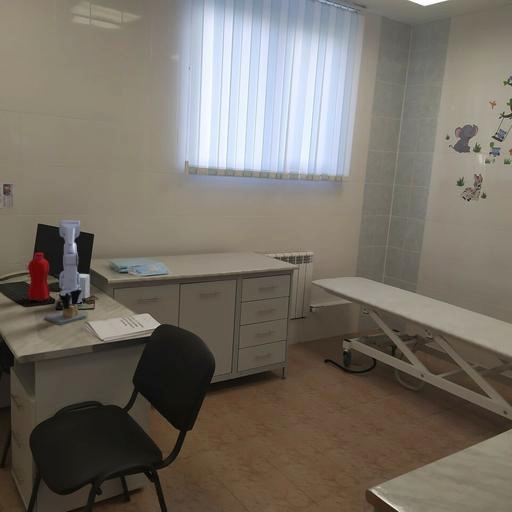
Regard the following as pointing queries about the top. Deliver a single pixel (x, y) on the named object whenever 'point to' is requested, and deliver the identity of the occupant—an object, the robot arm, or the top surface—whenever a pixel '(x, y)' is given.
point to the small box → (85, 285)
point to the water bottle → (38, 277)
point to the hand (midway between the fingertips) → (70, 306)
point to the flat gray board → (63, 318)
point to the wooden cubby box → (71, 311)
